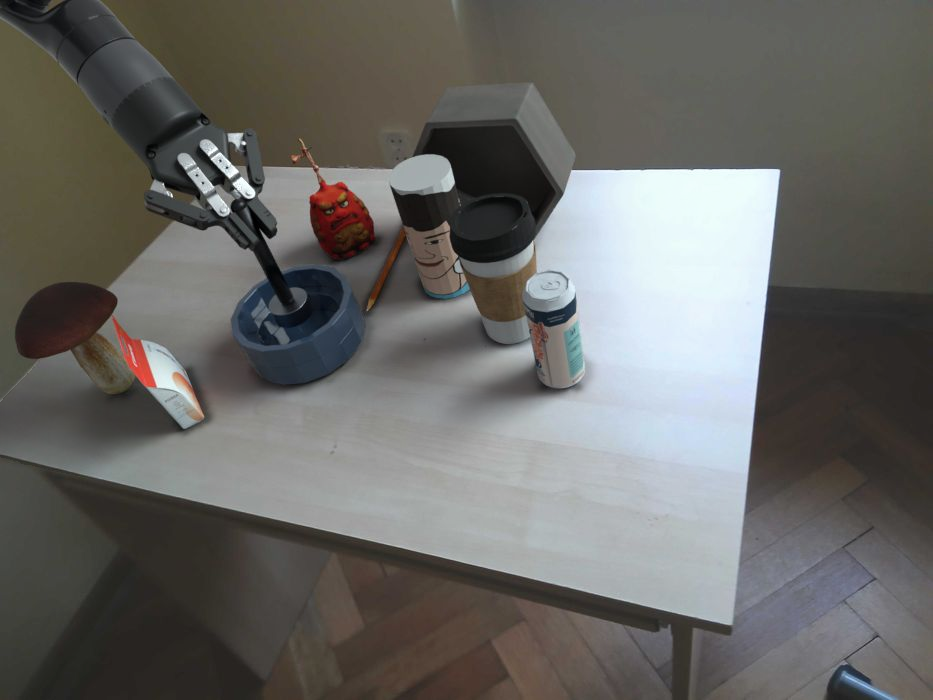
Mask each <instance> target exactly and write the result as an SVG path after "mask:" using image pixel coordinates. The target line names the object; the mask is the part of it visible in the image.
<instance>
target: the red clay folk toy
mask: <svg viewBox="0 0 933 700" xmlns="http://www.w3.org/2000/svg"><path fill="white" fill-rule="evenodd" d="M297 141H298V143H300V145H301V147H298V148H299V150H300V151H301V152H302V153H301V154H298V155H294V154H293V155H292V154H291V157H290V158H291V159H290V160H291V162H292V164H293V165H296V164H297V163H298V162H299V161H300V159H303V158H304V157H306V159H307V161H308V162H309V163H310V165H311V167H312V170H313V172H314V173H315V174H316V178H317V182H318V185H319V188H318V190H317V191H316V192H315V193H313V194H311V195H310V196H309V221H310V224H311V228H312V231H313V235H314V237H315V238H316V239H317V242H318V245H319V247H320V248H321V249H322V251H323V252H324V253H325V254H327V255H328V256H329V257H330V258H331V259H333V260H336V261H337V260H341V259H348V258H349V259H350V258H352V257H353V256H355V255H356V254H357V253H359V252H362V251H366V250H367V249H369V247H371V246H372V245H373V244H374V243H375V242H376V234H375V223H374V222H375V221H374V219H373V218H372V217H371V215H370V210H369V208H368V207H367V206H366V205H365V203H364V201H363V200H362V199H361V198H360V197H358V196H357V195H356V193H354V192H353V191H352V190H350V189H349V187H348V186H347V185H346V183H345V182H343V181H338V182H336V183H335V184H327V182H326V179H324V177H323V176H322V175H321V173H320V170H319V169H320V168H319V166H318V165H317V164H315V162H314V160H313V157H312V155H311V153H310V151H309V150H311V149H312V148H313V147H312V146H313V145H310V146H308V147H306V145H305V144H304V142H303V140H302V139H301V138H298V139H297Z"/></svg>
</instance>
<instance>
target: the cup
mask: <svg viewBox="0 0 933 700" xmlns="http://www.w3.org/2000/svg"><path fill="white" fill-rule="evenodd" d="M387 181H388V184H389V187H390V190H391V193H392V196H393V199H394V203H395V206H396V208H397V212H398V215H399V218H400V220H401V224H402V228H403V227H404V230H405V233H406V235H405V237H406V239H407V242H408V245H409V248H410V251H411V254H412V257H413V260H414V264H415V266H416V269H417V272H418V276H419V279H420V282H421V285H422V288H423V290H424V292H425V293H426V294H427V295H429V296H430V297H433V298H436V299H444V300H447V299H453V298H456V297H458V296H461V295H463V294H465V293H466V292H468V291H470V288H469V286H468V283H467V281H466V278H465V276H464V273H463V271H462V268H461V266H460V261H459V256H458V255H457V254H456V253H455V252H454V251H453V249H452V246H451V242H450V237H449V236H450V218H451V216H452V214H453V213H454V211H455V210H456V209H457V208H458V207H459V206H461V205H460V201H459V197H458V193H457V189H456V185H455V181H454V177H453V173H452V169H451V165H450V163H449V161H448V159H446V158H444V157H443V156H439V155H435V154H427V155H420V156H415V157H413V156H412V157H410V158H407V159H405V160H403V161H402V162H400V163H398V164H397V165H396V166H394V168H392V169H391V171H390V173H389V174H388V179H387Z"/></svg>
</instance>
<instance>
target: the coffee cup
mask: <svg viewBox="0 0 933 700" xmlns="http://www.w3.org/2000/svg"><path fill="white" fill-rule="evenodd" d="M535 235H536V225H535V219H534V217H533V216H532V214H531V211H530V208H529V205H528V203H527V201H526V200H525V199H524V198H523V197H521V196H519V195H515V194H507V193H499V194H490V195H484V196H480V197H477V198H474V199H471V200H469V201H467V202H465V203H464V204H462V205H461V206H459V207H458V208H457V209H456V210H455V211H454V213H453V214H452V216H451V218H450V236H449V237H450V242H451V246H452V249H453V251H454V252H455V253H456V254H457V255H458V256H459V261H460V266H461V268H462V271H463V273H464V276H465V278H466V281H467V283H468V286H469V288H470V290H469V291H470V293H471V295H472V298H473V300H474V304H475V305H476V308H477V311H478V312H479V315H480V318H481V320H482V323H483V326H484V329H485V332H486V334H487V335H488V337H489V338H490V339H492V341H494V342H497V343H500V344H503V345H513V344H518V343H521V342H524V341H526V340H528V339H531V338H530V333H529V328H528V323H527V318H526V313H525V308H524V303H523V298H522V293H523V290H524V288H525V286H526V284H527V281H528V280H529V279H530V278H531V277H532V276H533V275H534V274H536V273H538V270H537V269H538V268H537V266H538V265H537V247H536V243H535V239H536V238H535ZM534 238H535V239H534ZM533 239H534V241H533Z"/></svg>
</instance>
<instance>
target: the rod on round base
mask: <svg viewBox="0 0 933 700" xmlns="http://www.w3.org/2000/svg"><path fill="white" fill-rule="evenodd" d="M229 206H230V208H229V209H230V212H231V213H234V212H235V213H236V214H237V215H238V217H239V218H240V219H241V220H242V221H243V222H244V223H245V224H246V226H247V227H248V228H249V229H250V230H251V231H252V232H253V233H254V235H255V236H256V237H257V238H258V239H259V241H260V245H259V248H257V249H256V250H255V251H253V252H252V253H253V254H254V256H255V258H256V260H257V262H258V264H259V266H260V268H261V270H262V271H263V273H264V275H265V278H267V279H268V281H269V283H270V284H271V286H272V288H273V290H274V292H275V294H276V295H275V296H274V297H273V298H272V299H271V300H270V302H269V311H270V312H271V314H272V316H273V318H274V320H275V321H276V323H277V324H278V325H279V326H281V327H284V328H291V327H295V326H298V325H300V324H302V323H304V322H305V321H306V320H308V319H309V317H310V316H311V315H312V312H313V306H312V303H311V301H310V299H309V297H308V295H307V293H306V291H305V290H303V289H301V288H296V287H294V288H289V286H288V284H287V282H286V280H285V278H284V276H283V274H282V272H281V271H282V270H281V269H280V266H279V264H278V263H277V260H276V259H275V256H274V254H273V252H272V251H271V249H270V247H269V245H268V243H267V241H266V238H265V237H264V234H263V232H262V231H261V230H260V229H259V227H258V225H257V223H256V221H255V219H254V217H253V215H252V213H251V211H250V209H249V207H248V205H247V203H246V202H245V201H244V200H242V199H235V198H234V199H233V200H232V201H231V202H230V205H229Z"/></svg>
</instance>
